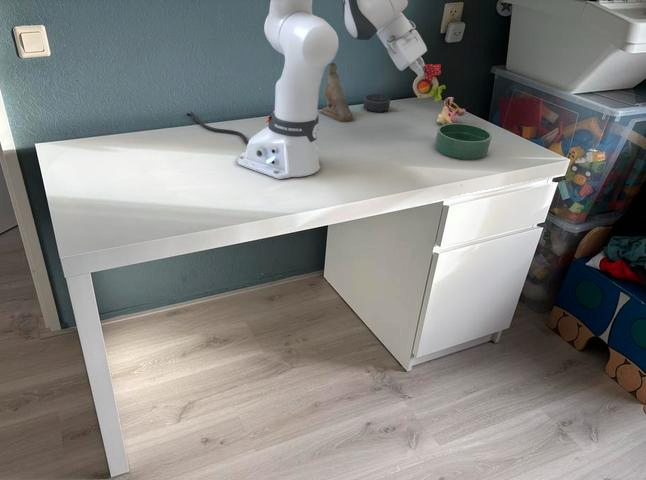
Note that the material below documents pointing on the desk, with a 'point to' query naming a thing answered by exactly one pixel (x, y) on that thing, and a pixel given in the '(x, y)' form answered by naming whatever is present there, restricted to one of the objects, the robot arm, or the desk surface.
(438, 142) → the bowl
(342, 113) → the worn brown figurine
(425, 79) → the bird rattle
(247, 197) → the desk surface
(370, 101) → the smart speaker
